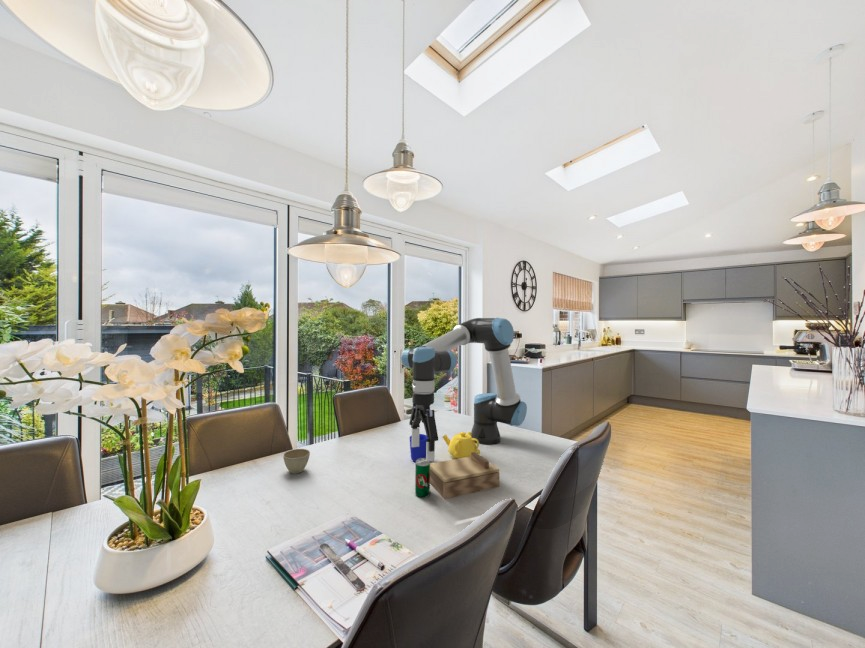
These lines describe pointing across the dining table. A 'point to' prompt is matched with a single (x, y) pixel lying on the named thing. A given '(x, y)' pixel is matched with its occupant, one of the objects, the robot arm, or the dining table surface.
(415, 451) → the mug
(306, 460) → the flower pot
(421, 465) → the soda can
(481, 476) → the open wooden box
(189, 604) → the dining table surface
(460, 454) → the teapot
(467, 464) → the lid
